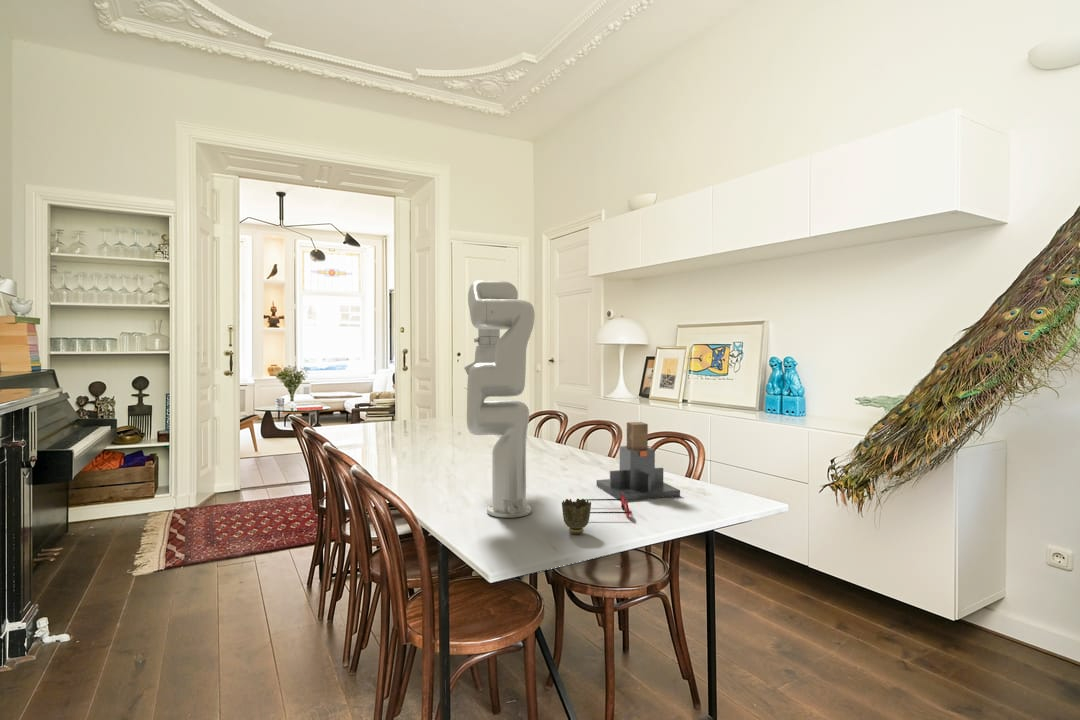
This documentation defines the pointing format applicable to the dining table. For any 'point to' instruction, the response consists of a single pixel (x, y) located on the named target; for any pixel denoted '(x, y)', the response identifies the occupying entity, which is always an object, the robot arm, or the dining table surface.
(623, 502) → the glasses
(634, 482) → the stand
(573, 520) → the cup
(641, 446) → the column
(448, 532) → the dining table surface
